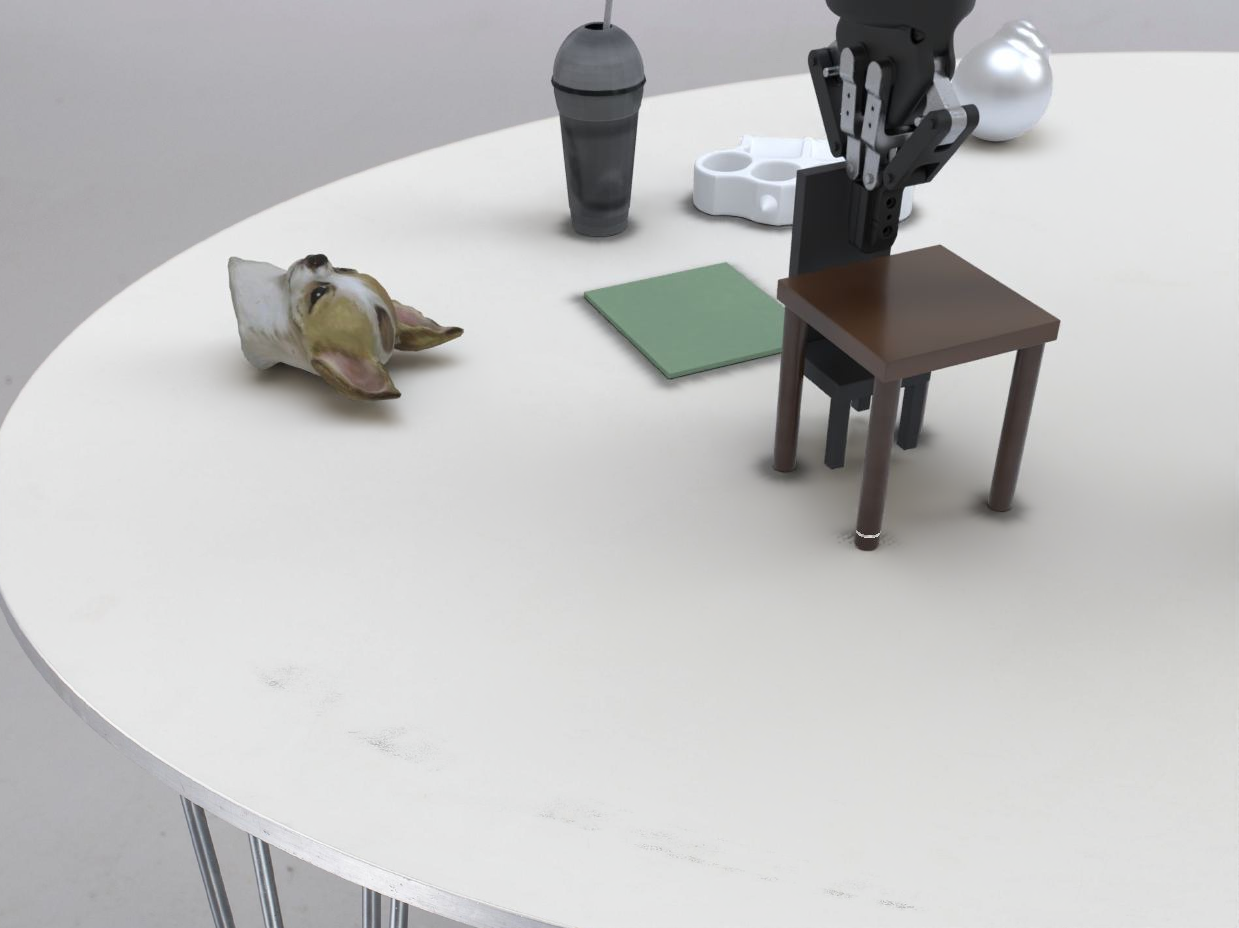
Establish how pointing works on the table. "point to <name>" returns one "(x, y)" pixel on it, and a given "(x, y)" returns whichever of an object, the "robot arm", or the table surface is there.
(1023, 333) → the side table
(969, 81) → the white spiral shell
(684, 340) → the mat
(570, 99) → the beverage cup
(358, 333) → the ceramic sculpture
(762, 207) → the white brass knuckles
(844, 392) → the chair
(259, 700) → the table surface
